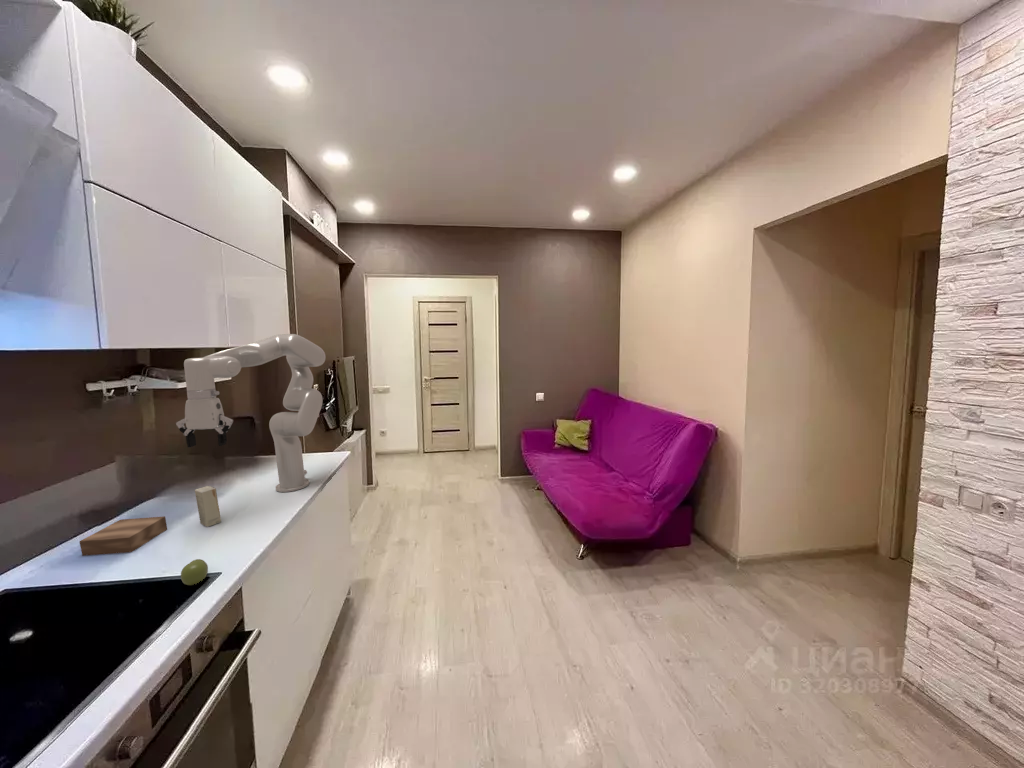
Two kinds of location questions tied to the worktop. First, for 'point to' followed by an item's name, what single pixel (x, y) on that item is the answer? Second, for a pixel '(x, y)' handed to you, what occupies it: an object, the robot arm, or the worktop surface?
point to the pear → (194, 572)
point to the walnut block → (123, 536)
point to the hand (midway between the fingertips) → (207, 445)
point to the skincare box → (208, 506)
